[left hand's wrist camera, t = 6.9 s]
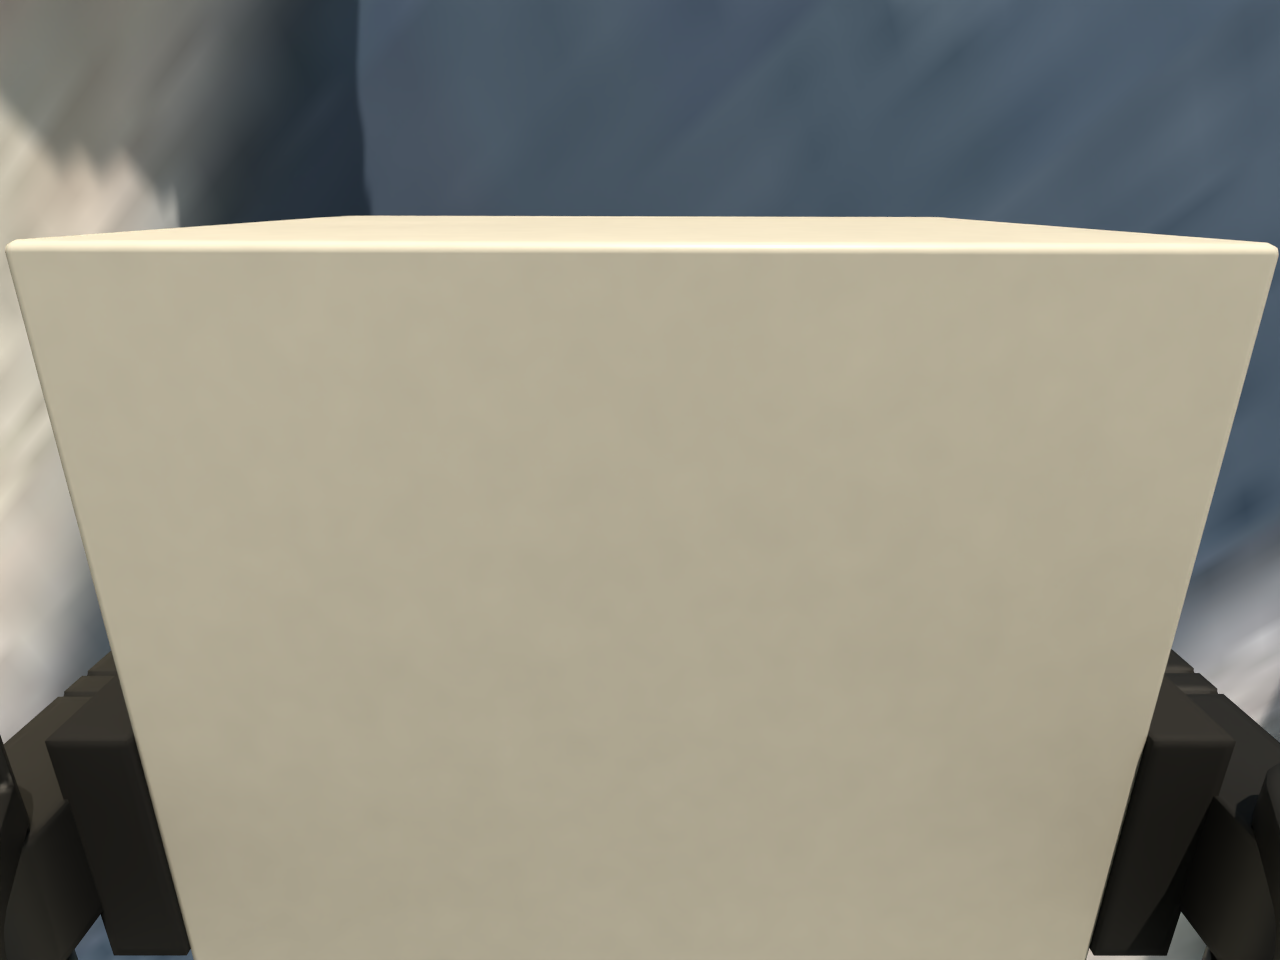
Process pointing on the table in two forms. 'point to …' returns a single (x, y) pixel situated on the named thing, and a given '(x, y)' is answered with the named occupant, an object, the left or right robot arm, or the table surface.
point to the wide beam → (640, 569)
